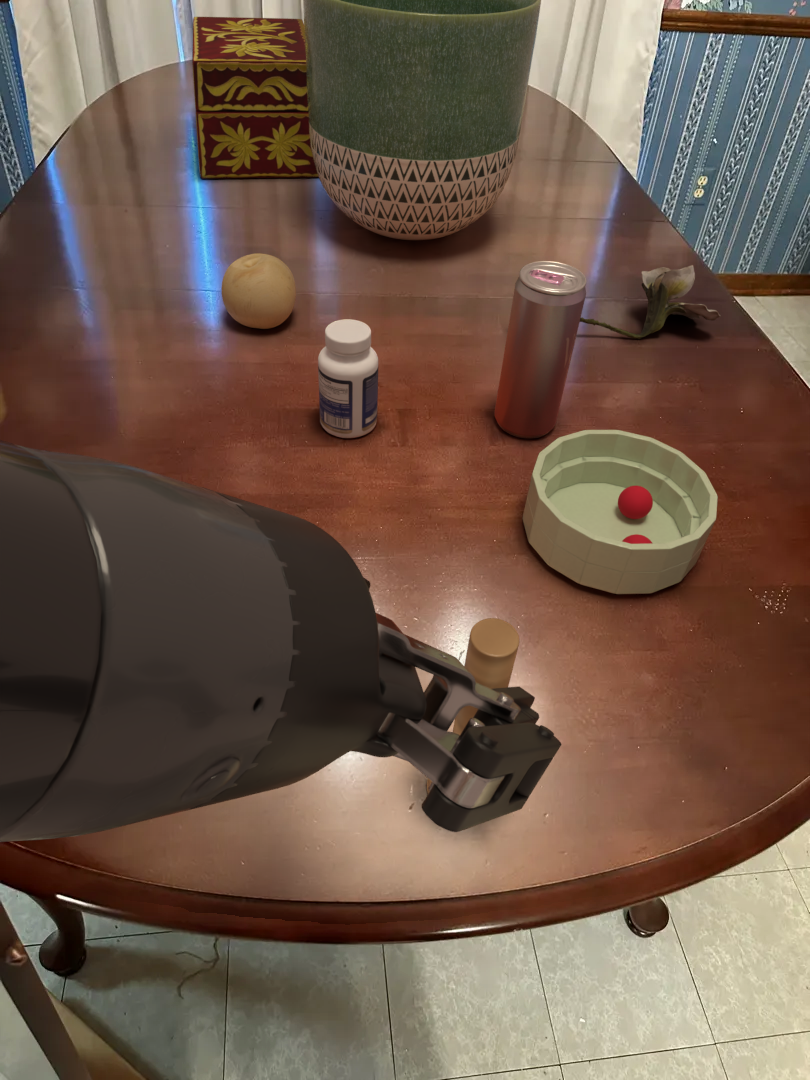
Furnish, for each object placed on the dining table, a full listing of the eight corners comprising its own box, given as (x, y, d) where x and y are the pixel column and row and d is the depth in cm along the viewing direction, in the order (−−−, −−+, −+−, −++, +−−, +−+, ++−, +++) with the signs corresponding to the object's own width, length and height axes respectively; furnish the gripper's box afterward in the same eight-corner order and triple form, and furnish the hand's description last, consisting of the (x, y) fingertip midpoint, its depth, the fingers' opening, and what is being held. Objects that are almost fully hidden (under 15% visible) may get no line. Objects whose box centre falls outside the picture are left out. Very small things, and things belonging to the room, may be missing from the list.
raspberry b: (661, 513, 64) (636, 500, 63) (637, 530, 66) (611, 517, 65) (658, 487, 66) (633, 474, 65) (634, 504, 68) (609, 491, 67)
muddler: (511, 783, 49) (557, 632, 38) (471, 836, 46) (508, 690, 36) (453, 743, 51) (482, 588, 40) (412, 792, 48) (431, 640, 37)
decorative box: (327, 178, 117) (326, 64, 107) (200, 179, 114) (185, 62, 104) (309, 117, 136) (306, 16, 126) (199, 117, 133) (187, 13, 123)
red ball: (668, 556, 60) (651, 524, 61) (642, 570, 59) (624, 537, 59) (647, 566, 63) (630, 535, 63) (621, 579, 62) (604, 547, 62)
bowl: (723, 533, 66) (747, 483, 62) (642, 629, 58) (663, 579, 54) (580, 458, 72) (593, 409, 69) (488, 536, 64) (498, 485, 61)
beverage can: (506, 398, 79) (531, 253, 68) (562, 415, 77) (597, 270, 66) (484, 429, 75) (507, 281, 64) (543, 448, 73) (576, 299, 63)
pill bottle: (365, 401, 77) (367, 310, 70) (385, 433, 73) (389, 340, 67) (312, 411, 75) (308, 319, 68) (330, 444, 72) (328, 351, 65)
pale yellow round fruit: (304, 334, 84) (265, 284, 78) (242, 351, 88) (200, 304, 81) (313, 280, 88) (276, 228, 82) (253, 298, 91) (213, 249, 85)
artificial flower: (504, 327, 91) (522, 236, 86) (682, 346, 95) (708, 261, 91) (525, 348, 83) (546, 250, 79) (717, 368, 88) (748, 276, 83)
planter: (314, 184, 115) (308, -42, 96) (494, 191, 117) (523, -30, 98) (305, 267, 96) (295, 6, 77) (519, 274, 98) (561, 21, 79)
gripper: (481, 683, 14) (631, 674, 29) (46, 371, 20) (349, 493, 35) (281, 1014, 15) (525, 843, 29) (-81, 616, 21) (268, 636, 36)
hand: (430, 653), depth 32 cm, fingers open, 8 cm apart
